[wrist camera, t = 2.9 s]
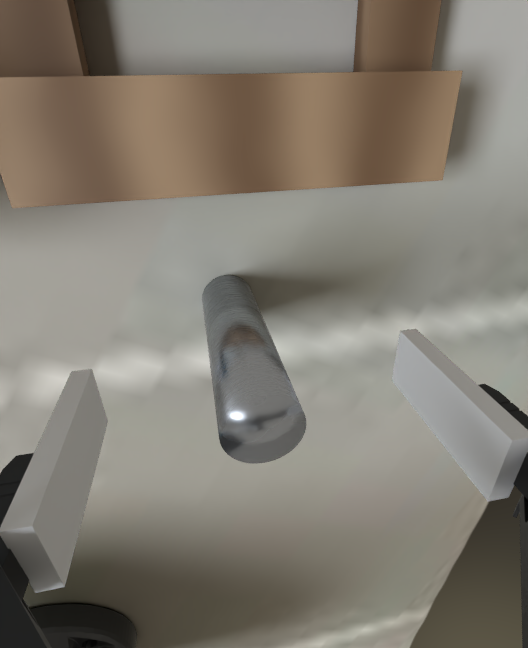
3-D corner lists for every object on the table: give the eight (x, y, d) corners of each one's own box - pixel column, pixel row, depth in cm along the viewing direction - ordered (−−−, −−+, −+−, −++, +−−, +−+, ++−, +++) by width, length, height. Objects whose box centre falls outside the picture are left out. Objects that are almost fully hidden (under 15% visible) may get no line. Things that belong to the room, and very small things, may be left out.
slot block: (42, 193, 19) (12, 208, 16) (-87, -241, 13) (-189, -381, 9) (401, 171, 22) (442, 180, 19) (449, -186, 16) (525, -275, 12)
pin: (205, 323, 24) (223, 470, 14) (199, 277, 23) (215, 403, 12) (253, 318, 25) (305, 455, 15) (250, 272, 23) (307, 389, 13)
